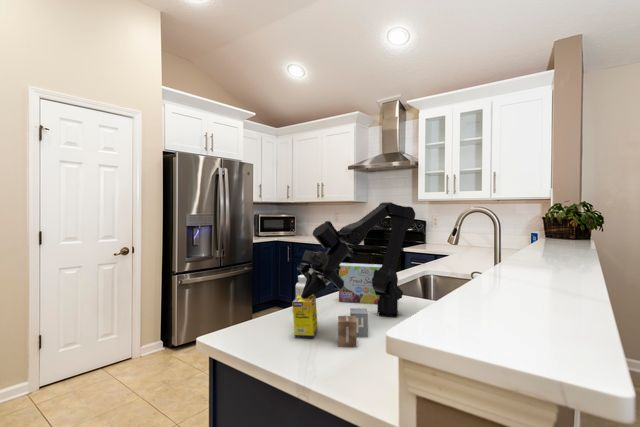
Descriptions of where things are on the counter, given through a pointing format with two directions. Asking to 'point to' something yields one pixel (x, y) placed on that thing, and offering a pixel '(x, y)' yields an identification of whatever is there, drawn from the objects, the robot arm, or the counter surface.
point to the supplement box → (305, 317)
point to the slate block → (360, 321)
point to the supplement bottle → (300, 285)
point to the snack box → (358, 283)
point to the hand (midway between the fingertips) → (302, 297)
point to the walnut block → (346, 331)
